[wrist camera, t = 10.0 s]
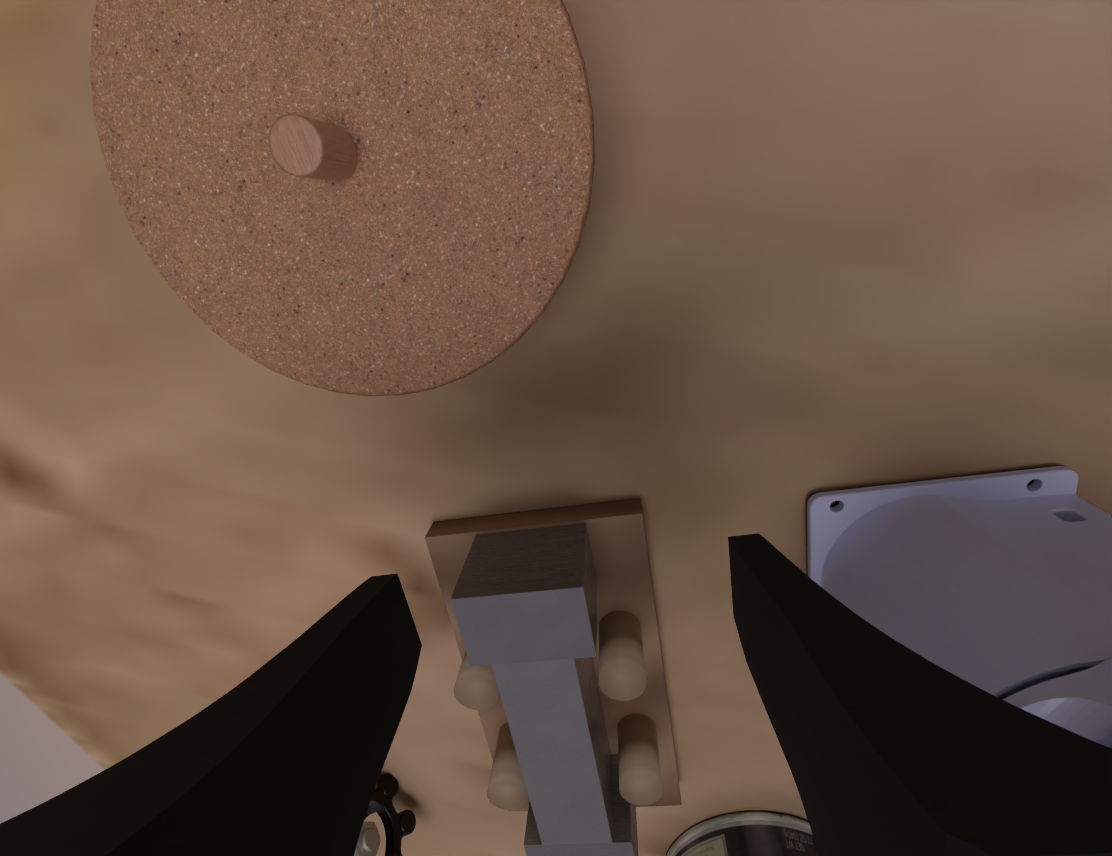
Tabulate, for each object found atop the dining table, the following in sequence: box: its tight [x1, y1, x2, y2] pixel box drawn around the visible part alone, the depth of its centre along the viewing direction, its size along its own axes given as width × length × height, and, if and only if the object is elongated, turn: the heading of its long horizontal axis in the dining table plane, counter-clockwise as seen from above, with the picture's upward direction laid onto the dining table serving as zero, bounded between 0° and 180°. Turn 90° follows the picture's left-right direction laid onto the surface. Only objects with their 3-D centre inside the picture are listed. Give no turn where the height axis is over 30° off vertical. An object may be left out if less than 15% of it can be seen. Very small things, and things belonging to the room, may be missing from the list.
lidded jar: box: [90, 0, 595, 396], centre depth 14 cm, size 11×11×9 cm
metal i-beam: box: [450, 523, 638, 856], centre depth 23 cm, size 16×5×4 cm, turn 10°
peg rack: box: [425, 499, 682, 811], centre depth 24 cm, size 17×9×4 cm, turn 10°
